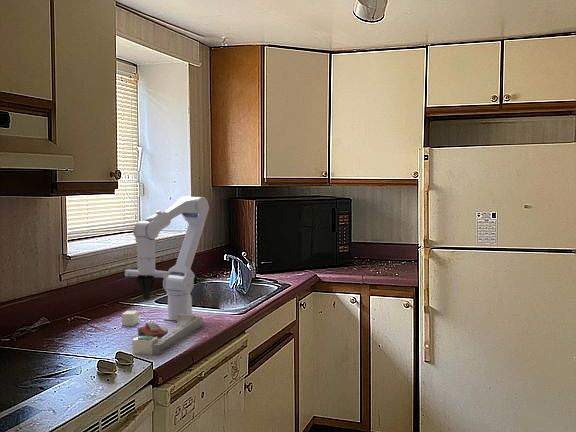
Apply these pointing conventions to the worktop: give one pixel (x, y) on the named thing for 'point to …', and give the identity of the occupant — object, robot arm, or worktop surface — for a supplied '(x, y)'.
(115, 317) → the worktop surface
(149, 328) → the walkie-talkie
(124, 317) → the module
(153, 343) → the off-white long bar
